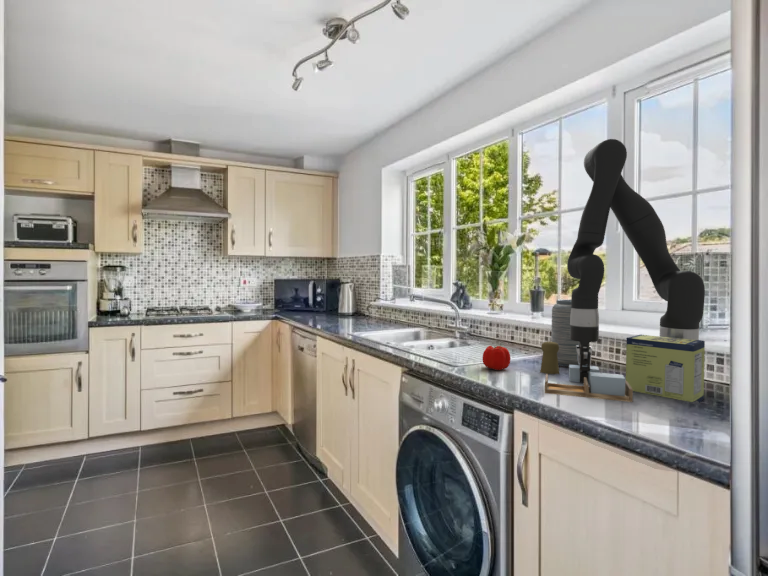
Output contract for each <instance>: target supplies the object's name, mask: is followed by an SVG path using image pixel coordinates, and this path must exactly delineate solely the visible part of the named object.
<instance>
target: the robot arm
mask: <svg viewBox="0 0 768 576" xmlns="http://www.w3.org/2000/svg"><path fill="white" fill-rule="evenodd" d="M627 157H628V151H627V148H626V145H624V143H623V142H621V140H618V139H615V138H609V139H606V140H602V141H601V142H600V143H598V144H597V145H596V146H594V147H593V148H592V149H590V150H588V152H587V153H586V154H585V156H584V159H583V167H584V170H585V172H586V174H587V176H588V177H589V178H590V179H591V181H592V182H593V184H592V187H591V191H590V193H589V196H588V199H587V201H586V204H585V206H584V208H583V210H582V214H581V217H580V221H579V226H578V229H577V230H578V232H577V238H576V240H575V242H574V244H573V247H572V249H571V252H570V253H569V256H568V259H567V266H566V267H567V268H566V269H567V273H568V274H569V275H570V277H572V278H573V279H576V280H579V283H578V286H577V287H575V288H573V289H572V291H571V296H570V297H571V299H570V300H571V314H570V339H571V340H573V341H579V345H578V346H576V352H577V361H578V365H580V369H579V371H580V382H579V383H580V384H584V377H586V378H587V381H589V372H590V366H591V364H592V354H593V348H592V346H590V343H596V342H598V341H599V339H600V337H599V336H600V334H599V333H600V331H599V330H600V314H599V294H600V293H599V292H600V290H601V287H602V283H603V279H604V276H605V264H604V261H603V259H602V258H601V257H600V256H599V255H598V254H594V253H595V251H596V250H597V249H598V248H600V247H601V246H602V245H604V240H605V236H606V231H607V227H608V220H609V216H610V210H611V211H612V212H613V215H614V216H615V218H616V219H617V220H618V223H619V225H620V227H621V228H622V230H623V232H624V234H625V235H626V237H627V239H628V240H629V242H630V243H631V245H632V247H633V249H634V250H635V252H636V253H637V255H638V257H639V258H640V260H641V261H642V263H643V265H644V266H645V269H646V271H647V273H648V275H649V278H650V280H651V282H652V285H653V287H654V289H655V291H656V293H657V295H658V296H659V297H660V298H661V299H662V300H664V301H665V302H667V303H666V304H667V305H666V311H665V313H664V314H663V315H662V316H660V318H659V337H670V338H681V339H692V340H700V339H699V338H700V336H699V335H700V324H701V323H700V322H701V321H702V319H703V317H704V316H703V315H704V309H705V297H706V294H705V293H706V287H705V286H706V285H705V282H704V279H703V278H702V277H701V275H699V274H698V273H696V272H694V271H689V270H680V268H679V267H678V266H677V264H676V263H675V261H674V259H673V258H672V256H671V254H670V252H669V249H668V245H667V235H666V231H665V226H664V224H663V222H662V220H661V219H660V217H659V215H658V214H657V212H656V210H655V209H654V207H653V206H652V205H651V203H650V202H649V201H648V200H647V199H645V198H644V197H643V196H641V195H640V194H639V193H638V192H636V191H635V190H634V189H632V188H631V186H630V185H629V184H628V183H627V181H626V180H625V178H624V177H623V174H622V172H623V169H624V167H625V164H626V160H627ZM582 366H587V367H582Z"/></svg>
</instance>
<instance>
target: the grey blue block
mask: <svg viewBox="0 0 768 576" xmlns="http://www.w3.org/2000/svg"><path fill="white" fill-rule="evenodd" d="M582 367H587V366H582ZM579 369H580V365H569V367H568V381H569V382H576V383H580V371H579ZM590 372H595V373H600V368H599V367H598V366H595V365H590ZM590 372H589V381H588V384H590Z"/></svg>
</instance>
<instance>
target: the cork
mask: <svg viewBox="0 0 768 576" xmlns="http://www.w3.org/2000/svg"><path fill="white" fill-rule="evenodd" d="M541 350H542V353H543V354H542V356H541V357H542V358H541V363H540V371H539V373H542V374H548V375H560V369H559V365H558V357H557V352H558V351H559V345H558V343H556V342H551V340H550V341H549V340H548V341H543V342H542V343H541Z"/></svg>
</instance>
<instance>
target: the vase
mask: <svg viewBox="0 0 768 576" xmlns="http://www.w3.org/2000/svg"><path fill="white" fill-rule="evenodd" d="M570 314H571V299H556V303H555V304H554V305H553V306H552V308H551V333H550V334H551V340H550V341H551V342H556V343H558V345H559V351H558V352H557V357H558V366H560V367H568V368H569V365H578V361H577V352H576V346H578V345H579V341H573V340H571V339H570Z"/></svg>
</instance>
